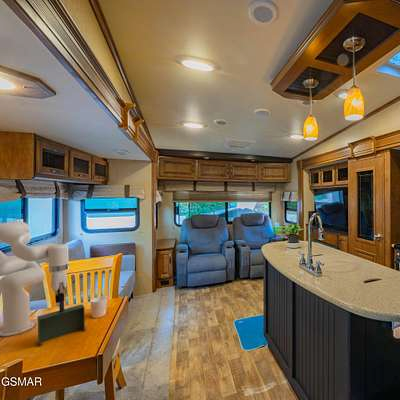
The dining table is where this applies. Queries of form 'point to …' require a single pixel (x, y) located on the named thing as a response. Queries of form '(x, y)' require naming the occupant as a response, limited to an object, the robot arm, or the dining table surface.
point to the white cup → (98, 306)
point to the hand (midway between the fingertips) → (60, 301)
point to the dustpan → (60, 322)
